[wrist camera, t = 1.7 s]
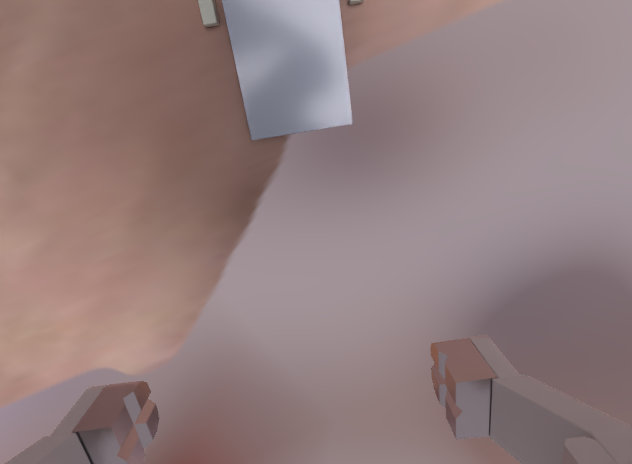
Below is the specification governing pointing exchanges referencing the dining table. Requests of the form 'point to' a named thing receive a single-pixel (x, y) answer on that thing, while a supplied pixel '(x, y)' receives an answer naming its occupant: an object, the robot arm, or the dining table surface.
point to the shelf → (211, 17)
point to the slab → (289, 64)
